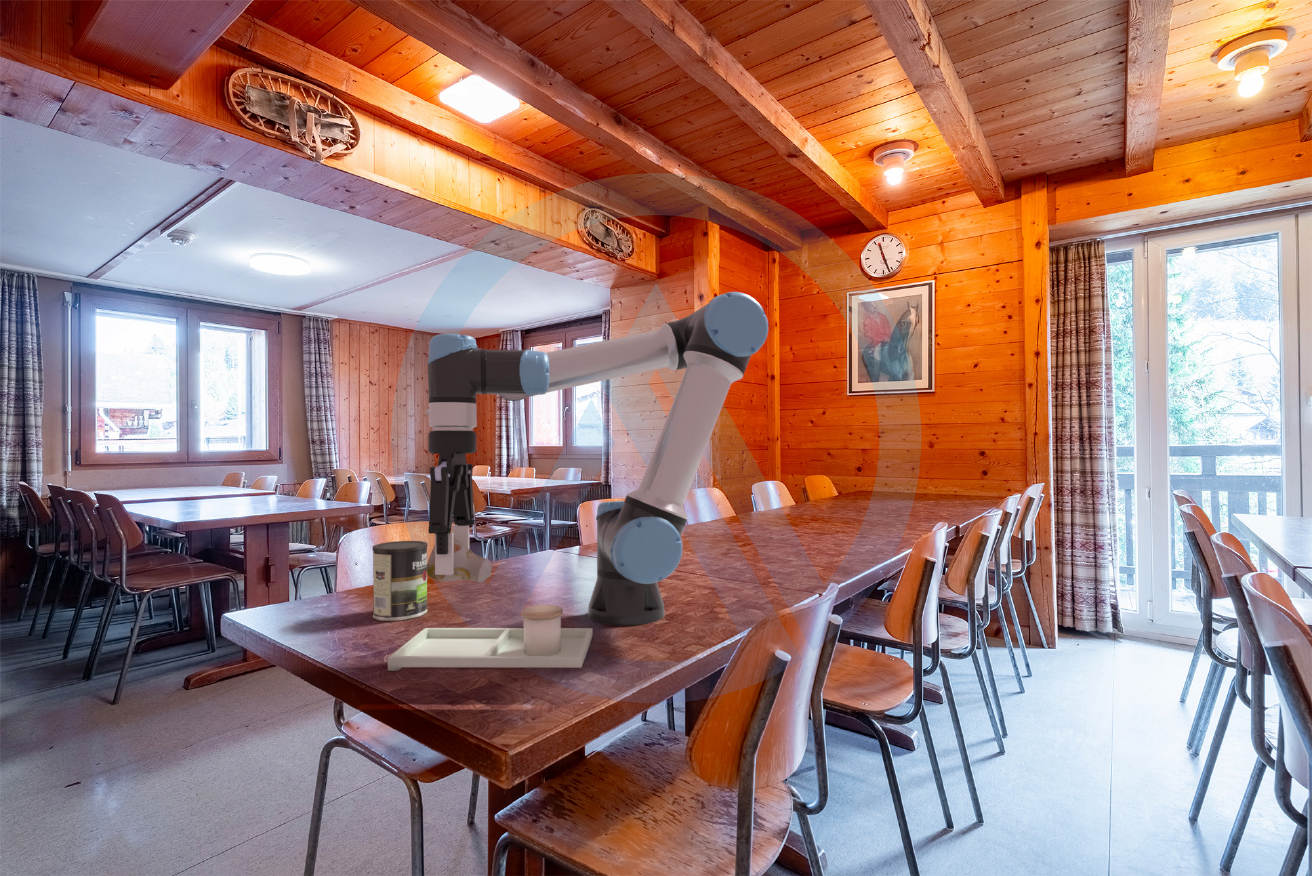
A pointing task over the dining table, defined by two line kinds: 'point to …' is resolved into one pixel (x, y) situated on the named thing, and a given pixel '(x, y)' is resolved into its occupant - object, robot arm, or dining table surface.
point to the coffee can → (399, 580)
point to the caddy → (487, 649)
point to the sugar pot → (542, 630)
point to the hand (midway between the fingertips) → (452, 568)
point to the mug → (462, 565)
